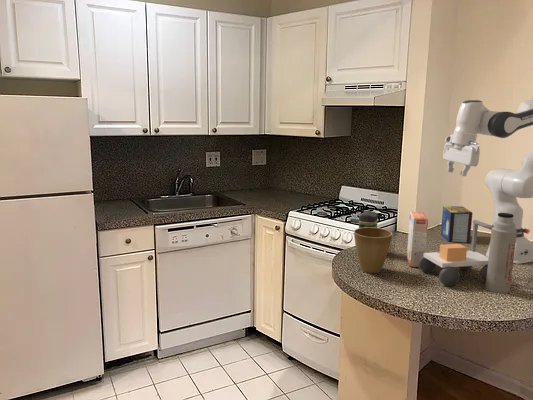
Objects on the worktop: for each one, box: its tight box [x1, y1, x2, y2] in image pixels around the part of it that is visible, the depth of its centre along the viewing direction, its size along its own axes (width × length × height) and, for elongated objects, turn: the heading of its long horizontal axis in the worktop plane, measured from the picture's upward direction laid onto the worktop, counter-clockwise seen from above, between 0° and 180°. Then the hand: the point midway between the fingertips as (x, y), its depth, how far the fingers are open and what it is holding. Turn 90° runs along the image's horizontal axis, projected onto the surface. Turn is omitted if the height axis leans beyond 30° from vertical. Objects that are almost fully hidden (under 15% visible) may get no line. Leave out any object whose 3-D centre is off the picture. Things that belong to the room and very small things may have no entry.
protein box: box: [440, 205, 473, 244], centre depth 231 cm, size 10×15×16 cm
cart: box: [417, 219, 494, 287], centre depth 175 cm, size 24×17×21 cm
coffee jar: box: [358, 210, 379, 228], centre depth 207 cm, size 10×8×19 cm
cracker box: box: [406, 211, 429, 268], centre depth 192 cm, size 14×6×21 cm, turn 168°
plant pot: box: [353, 227, 393, 274], centre depth 182 cm, size 15×15×16 cm
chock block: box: [439, 243, 468, 261], centre depth 172 cm, size 8×5×5 cm, turn 101°
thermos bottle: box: [485, 213, 517, 294], centre depth 163 cm, size 8×8×28 cm
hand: (456, 174), depth 186 cm, fingers open, 8 cm apart
